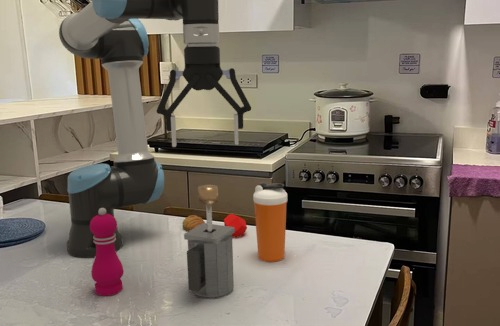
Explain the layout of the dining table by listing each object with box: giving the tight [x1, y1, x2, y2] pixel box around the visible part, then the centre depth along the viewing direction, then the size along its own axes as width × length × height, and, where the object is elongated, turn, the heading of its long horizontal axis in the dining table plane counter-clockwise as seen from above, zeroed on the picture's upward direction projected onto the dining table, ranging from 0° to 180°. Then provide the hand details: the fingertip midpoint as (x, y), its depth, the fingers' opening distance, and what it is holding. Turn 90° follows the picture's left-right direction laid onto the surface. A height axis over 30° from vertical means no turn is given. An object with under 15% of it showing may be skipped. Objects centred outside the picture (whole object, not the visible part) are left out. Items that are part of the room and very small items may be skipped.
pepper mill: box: [90, 208, 124, 297], centre depth 121 cm, size 7×7×20 cm
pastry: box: [181, 214, 205, 232], centre depth 163 cm, size 9×7×4 cm
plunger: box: [197, 184, 219, 233], centre depth 119 cm, size 7×7×20 cm
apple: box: [223, 213, 248, 238], centre depth 158 cm, size 7×7×8 cm
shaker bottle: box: [252, 181, 288, 263], centre depth 138 cm, size 9×9×20 cm
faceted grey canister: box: [183, 222, 235, 300], centre depth 119 cm, size 10×13×14 cm
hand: (205, 144), depth 115 cm, fingers open, 13 cm apart
